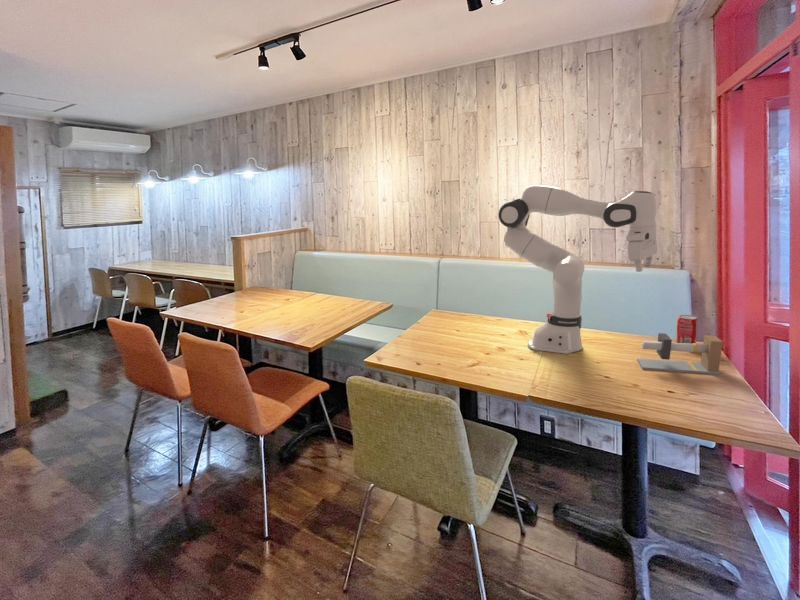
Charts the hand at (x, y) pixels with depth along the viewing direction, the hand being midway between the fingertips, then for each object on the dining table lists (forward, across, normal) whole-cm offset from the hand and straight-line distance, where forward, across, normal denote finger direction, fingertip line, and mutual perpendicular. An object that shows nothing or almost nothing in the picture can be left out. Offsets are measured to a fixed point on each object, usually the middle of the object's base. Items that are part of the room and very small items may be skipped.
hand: (643, 269), depth 173 cm
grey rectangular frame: (+31, +8, +9) cm, 34 cm away
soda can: (+37, -21, +8) cm, 43 cm away
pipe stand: (+36, +6, +12) cm, 38 cm away
